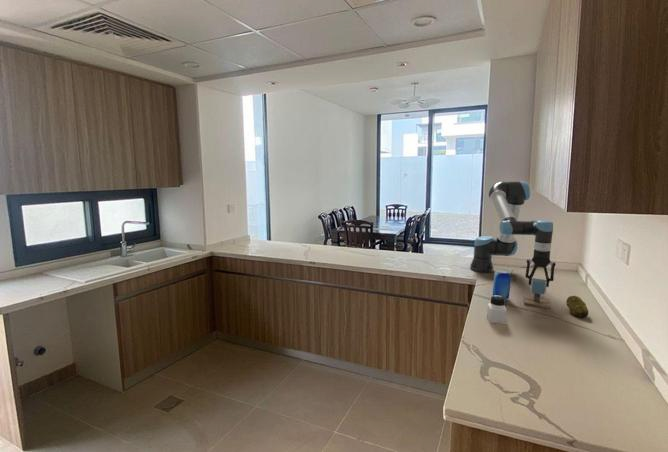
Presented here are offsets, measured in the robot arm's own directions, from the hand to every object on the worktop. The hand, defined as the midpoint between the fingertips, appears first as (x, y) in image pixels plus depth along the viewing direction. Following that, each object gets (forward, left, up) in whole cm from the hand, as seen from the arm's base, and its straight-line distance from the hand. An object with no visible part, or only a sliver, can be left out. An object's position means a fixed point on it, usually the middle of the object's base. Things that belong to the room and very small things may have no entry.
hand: (537, 291), depth 192 cm
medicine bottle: (+33, -19, -7) cm, 39 cm away
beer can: (+2, -18, -7) cm, 19 cm away
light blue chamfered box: (0, 0, 0) cm, 0 cm away
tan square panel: (0, 0, -6) cm, 6 cm away
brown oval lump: (+7, +17, -7) cm, 20 cm away
